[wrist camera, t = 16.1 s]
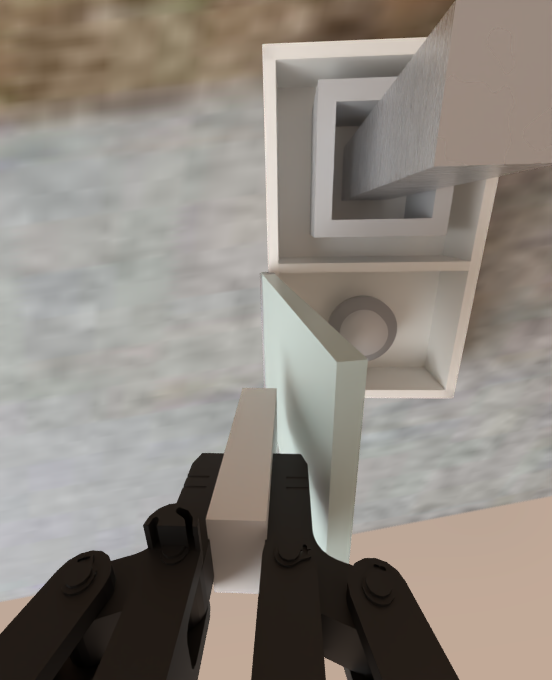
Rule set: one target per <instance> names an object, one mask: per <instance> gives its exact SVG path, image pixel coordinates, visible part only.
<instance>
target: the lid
mask: <svg viewBox="0 0 552 680" xmlns="http://www.w3.org/2000/svg"><path fill="white" fill-rule="evenodd" d="M260 289H261V318H262V346H263V375H264V388H277V444H278V448H279V451H280V454H301V455H302V456H303V458H304V459H305V461H306V463H307V464H308V474H309V490H310V501H311V515H312V529H313V534H314V538H315V540H316V542H317V544H318V545H319V546H320V548H321V549H322V550H323V551H324V552H325V553H327V554H328V555H329V556H331V557H333V558H335V559H337V560H339V561H342V562H345V563H347V564H349V557H350V546H351V536H352V525H353V515H354V504H355V493H356V483H357V472H358V461H359V450H360V440H361V429H362V418H363V408H364V397H365V386H366V375H367V365H368V359H367V358H366V357H365V356H364V355H363V354H362V353H360V352H359V351H358V350H357V349H356V348H355V347H354V346H353V345H352V344H351V343H350V342H348V341H347V340H346V339H345V338H344V337H343V336H342V335H341V334H340V333H339V332H338V331H336V330H335V329H334V328H333V327H332V326H331V325H330V324H329V323H328V322H327V321H326V320H324V319H323V318H322V317H321V316H320V315H319V314H318V313H317V312H316V311H315V310H313V309H312V308H311V307H310V306H309V305H308V304H307V303H306V302H305V301H304V300H303V299H301V298H300V297H299V296H298V295H297V294H296V293H295V292H294V291H293V290H292V289H291V288H289V287H288V286H287V285H286V284H285V283H284V282H283V281H282V280H281V279H280V278H279V277H277V276H276V275H275V273H274V272H262V273H260Z"/></svg>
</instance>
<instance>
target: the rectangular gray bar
mask: <svg viewBox="0 0 552 680" xmlns="http://www.w3.org/2000/svg"><path fill="white" fill-rule="evenodd" d="M547 166H552V0H455V2H454V3H453V4H452V6H451V7H450V8H449V10H448V11H447V12H446V14H445V15H444V16H443V17H442V19H441V20H440V21H439V23H438V24H437V25H436V27H435V28H434V29H433V31H432V32H431V33H430V35H429V36H428V37H427V39H426V40H425V41H424V43H423V44H422V45H421V46H420V48H419V49H418V50H417V52H416V53H415V54H414V56H413V57H412V58H411V60H410V61H409V62H408V64H407V65H406V66H405V68H404V69H403V70H402V72H401V73H400V74H399V76H398V77H397V78H396V79H395V81H394V82H393V83H392V85H391V86H390V87H389V89H388V90H387V91H386V93H385V94H384V95H383V97H382V98H381V99H380V101H379V102H378V103H377V105H376V106H375V107H374V108H373V110H372V111H371V112H370V114H369V115H368V116H367V118H366V119H365V120H364V122H363V123H362V124H361V126H360V127H359V128H358V130H357V131H356V132H355V134H354V135H353V136H352V138H351V139H350V140H349V141H348V143H347V144H346V145H345V147H344V151H343V172H342V193H341V201H351V200H388V199H393V198H398V197H403V196H407V195H412V194H417V193H422V192H427V191H431V190H436V189H441V188H446V187H451V186H456V185H460V184H465V183H470V182H475V181H480V180H484V179H489V178H494V177H499V176H504V175H508V174H513V173H518V172H523V171H528V170H533V169H537V168H542V167H547Z"/></svg>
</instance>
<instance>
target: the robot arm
mask: <svg viewBox="0 0 552 680" xmlns="http://www.w3.org/2000/svg"><path fill="white" fill-rule="evenodd" d="M143 527H144V531H145V536H146V540H147V545H148V548H147V549H146V550H144V551H142V552H139V553H137V554H134V555H131V556H127V557H124V558H120V559H117V560H113V561H110V558H109V556H108V555H107V554H105V553H104V552H102V551H89V552H85V553H81V554H79V555H77V556H76V557H74V558H72V559H70V560H69V561H67V562H66V563H65V564H64V565H63V566H62V567H61V568H60V569H59V570H57V572H56V573H55V574H54V575H53V576H52V577H51V578H50V579H49V580H48V582H47V583H46V584H45V585H44V586H43V587H42V588H41V589H40V590H39V592H38V593H37V594H36V595H35V596H34V597H33V598H32V599H31V600H30V602H29V603H28V604H27V605H26V606H25V607H24V608H23V609H22V610H21V612H20V613H19V614H18V615H17V616H16V617H15V618H14V619H13V621H12V622H11V623H10V624H9V625H8V626H7V627H6V628H5V629H4V631H3V632H2V633H1V634H0V680H198V675H199V669H200V665H201V660H202V655H203V650H204V645H205V640H206V635H207V630H208V624H209V620H210V602H209V599H210V594H211V589H212V584H213V583H214V591H215V592H226V593H253V594H259V597H258V609H257V619H256V631H255V642H254V654H253V666H252V678H251V680H326V678H325V664H324V657H325V658H327V659H329V660H331V661H333V662H335V663H337V664H339V665H341V666H343V667H344V670H345V673H346V677H347V680H459V678H458V676H457V675H456V673H455V671H454V669H453V667H452V666H451V664H450V662H449V660H448V658H447V656H446V655H445V653H444V651H443V649H442V648H441V645H440V644H439V642H438V640H437V638H436V636H435V634H434V633H433V631H432V629H431V627H430V625H429V623H428V622H427V620H426V618H425V616H424V614H423V613H422V611H421V609H420V607H419V605H418V604H417V602H416V600H415V598H414V596H413V594H412V593H411V591H410V589H409V587H408V585H407V583H406V581H405V580H404V579H403V577H402V576H401V575H400V573H399V572H398V571H397V570H396V569H395V568H394V567H392V566H391V565H390V564H388V563H387V562H384V561H382V560H379V559H376V558H364V559H362V560H360V561H358V562H356V563H355V564H354V565H353V566H352V565H350V564H347V563H345V562H342V561H339V560H337V559H335V558H333V557H331V556H329V555H328V554H327V553H325V552H324V551H323V550H322V549H321V548H320V546H319V545H318V544H317V542H316V540H315V538H314V534H313V529H312V515H311V501H310V490H309V474H308V464H307V463H306V461H305V459H304V458H303V456H302V455H301V454H277V388H243V389H242V392H241V396H240V399H239V403H238V407H237V410H236V414H235V417H234V421H233V424H232V428H231V431H230V435H229V438H228V442H227V446H226V449H225V453H224V454H222V453H202V454H201V455H200V456H199V457H198V458H197V459H196V460H195V461H194V463H193V464H192V466H191V469H190V471H189V474H188V478H187V479H186V481H185V484H184V488H183V489H182V491H181V494H180V496H179V499H178V501H177V503H175V504H169V505H166V506H164V507H162V508H159V509H158V510H157V511H155V512H154V513H153V514H152V515H150V516H149V518H148V519H147V520H146V522H145V523H144V525H143Z"/></svg>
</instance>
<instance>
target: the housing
mask: <svg viewBox="0 0 552 680" xmlns="http://www.w3.org/2000/svg"><path fill="white" fill-rule="evenodd" d="M426 39H427V37H419V38H395V39H371V40H347V41H324V42H300V43H276V44H262V50H263V89H264V128H265V166H266V205H267V244H268V272H274V273H275V275H276V276H277V277H279V278H280V279H281V280H282V281H283V282H284V283H285V284H286V285H287V286H288V287H289V288H291V289H292V290H293V291H294V292H295V293H296V294H297V295H298V296H299V297H300V298H301V299H303V300H304V301H305V302H306V303H307V304H308V305H309V306H310V307H311V308H312V309H313V310H315V311H316V312H317V313H318V314H319V315H320V316H321V317H322V318H323V319H324V320H326V321H327V322H328V323H329V324H330V325H331V326H332V327H333V328H334V329H335V330H336V331H338V332H339V333H340V334H341V335H342V336H343V337H344V338H345V339H346V340H347V341H348V342H350V343H351V344H352V345H353V346H354V347H355V348H356V349H357V350H358V351H359V352H360V353H362V354H363V355H364V356H365V357H366V358H367V359H368V365H367V375H366V386H365V397H364V398H453V396H454V391H455V387H456V382H457V377H458V372H459V367H460V363H461V358H462V353H463V348H464V343H465V338H466V334H467V329H468V324H469V319H470V314H471V309H472V305H473V300H474V295H475V290H476V285H477V280H478V276H479V271H480V266H481V261H482V256H483V251H484V247H485V242H486V237H487V232H488V227H489V222H490V218H491V213H492V208H493V203H494V198H495V194H496V189H497V184H498V179H499V177H494V178H489V179H484V180H480V181H475V182H470V183H465V184H460V185H456V186H451V187H446V188H441V189H436V190H431V191H427V192H422V193H417V194H412V195H407V196H403V197H398V198H393V199H388V200H351V201H341V193H342V172H343V151H344V147H345V145H346V144H347V143H348V141H349V140H350V139H351V138H352V136H353V135H354V134H355V132H356V131H357V130H358V128H359V127H360V126H361V124H362V123H363V122H364V120H365V119H366V118H367V116H368V115H369V114H370V112H371V111H372V110H373V108H374V107H375V106H376V105H377V103H378V102H379V101H380V99H381V98H382V97H383V95H384V94H385V93H386V91H387V90H388V89H389V87H390V86H391V85H392V83H393V82H394V81H395V79H396V78H397V77H398V76H399V74H400V73H401V72H402V70H403V69H404V68H405V66H406V65H407V64H408V62H409V61H410V60H411V58H412V57H413V56H414V54H415V53H416V52H417V50H418V49H419V48H420V46H421V45H422V44H423V43H424V41H425V40H426Z"/></svg>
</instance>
